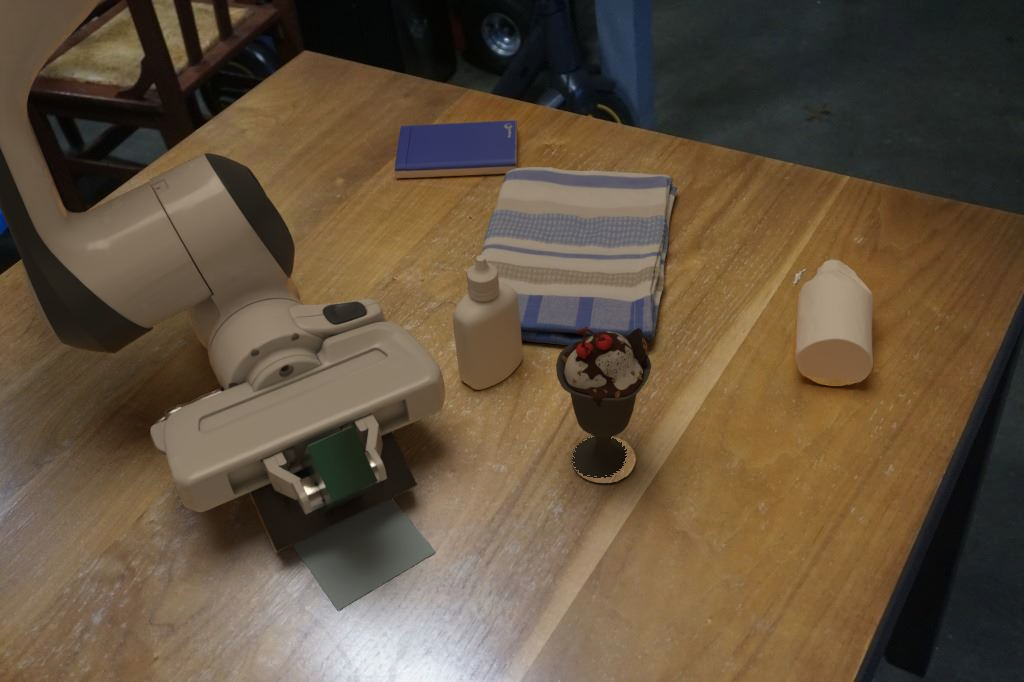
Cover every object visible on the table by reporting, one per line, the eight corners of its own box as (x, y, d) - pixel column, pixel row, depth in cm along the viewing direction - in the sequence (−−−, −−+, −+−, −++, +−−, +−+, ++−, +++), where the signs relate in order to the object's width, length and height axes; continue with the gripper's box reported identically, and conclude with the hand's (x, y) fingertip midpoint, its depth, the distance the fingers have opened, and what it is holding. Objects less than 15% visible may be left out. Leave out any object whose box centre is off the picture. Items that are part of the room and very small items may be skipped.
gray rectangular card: (261, 501, 83) (261, 500, 83) (354, 451, 86) (354, 451, 86) (337, 611, 76) (337, 610, 76) (435, 552, 79) (435, 551, 79)
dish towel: (677, 191, 108) (679, 167, 106) (657, 357, 92) (658, 333, 90) (505, 181, 111) (503, 158, 109) (455, 340, 95) (452, 316, 93)
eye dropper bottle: (453, 359, 93) (439, 248, 85) (518, 345, 94) (509, 234, 86) (464, 395, 90) (450, 283, 82) (531, 380, 91) (523, 268, 82)
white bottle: (866, 293, 96) (877, 243, 92) (867, 391, 88) (879, 340, 84) (795, 287, 97) (803, 236, 93) (790, 383, 89) (798, 332, 85)
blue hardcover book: (516, 118, 117) (400, 123, 118) (516, 161, 111) (394, 167, 112) (517, 130, 118) (402, 136, 119) (517, 174, 112) (396, 180, 113)
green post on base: (275, 553, 79) (281, 543, 69) (241, 477, 80) (243, 456, 69) (412, 488, 83) (438, 469, 72) (379, 416, 83) (399, 387, 73)
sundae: (550, 486, 82) (543, 341, 72) (571, 421, 87) (566, 276, 77) (637, 502, 81) (642, 355, 71) (654, 435, 86) (660, 288, 75)
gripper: (131, 390, 78) (184, 526, 69) (393, 290, 85) (474, 402, 75) (156, 449, 83) (209, 583, 73) (403, 349, 89) (481, 461, 80)
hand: (346, 490), depth 74 cm, fingers closed on green post on base, 3 cm apart
